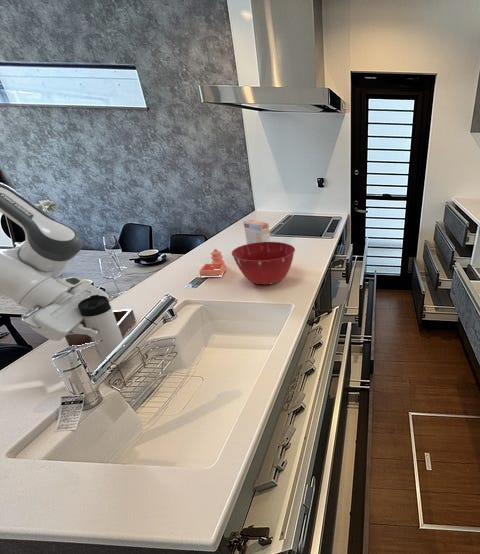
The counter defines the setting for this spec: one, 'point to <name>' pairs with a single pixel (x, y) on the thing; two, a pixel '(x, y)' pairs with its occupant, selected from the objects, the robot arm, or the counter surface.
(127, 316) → the basket
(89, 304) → the travel mug
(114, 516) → the counter surface
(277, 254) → the mixing bowl
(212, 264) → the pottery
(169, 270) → the counter surface
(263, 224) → the cracker box
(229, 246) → the counter surface
